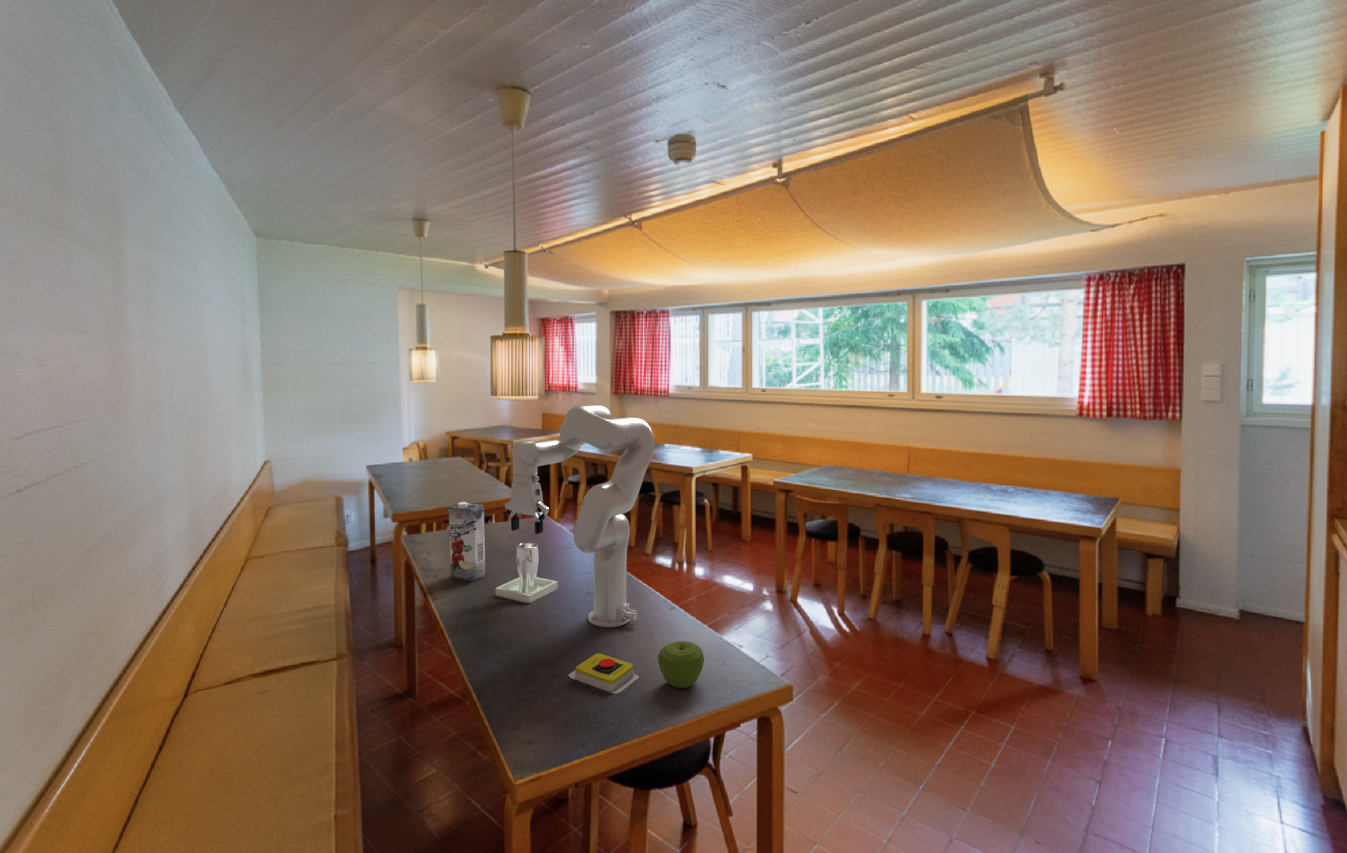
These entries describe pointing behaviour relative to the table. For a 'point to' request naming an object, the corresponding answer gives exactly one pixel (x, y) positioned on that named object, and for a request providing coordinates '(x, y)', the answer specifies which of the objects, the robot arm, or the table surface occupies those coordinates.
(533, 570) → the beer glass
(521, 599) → the sage tray
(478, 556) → the juice carton
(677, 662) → the apple
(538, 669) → the table surface
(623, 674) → the emergency button
